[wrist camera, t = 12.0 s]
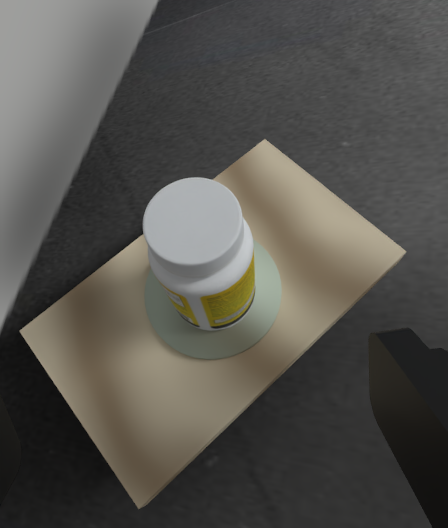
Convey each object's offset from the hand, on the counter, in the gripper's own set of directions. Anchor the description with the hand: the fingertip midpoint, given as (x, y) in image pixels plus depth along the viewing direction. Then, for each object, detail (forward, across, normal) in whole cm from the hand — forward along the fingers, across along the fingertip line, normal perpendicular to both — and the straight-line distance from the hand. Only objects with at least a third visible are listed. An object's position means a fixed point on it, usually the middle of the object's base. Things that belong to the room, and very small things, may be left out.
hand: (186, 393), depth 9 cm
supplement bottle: (+14, 0, +4) cm, 15 cm away
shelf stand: (+19, 0, +9) cm, 21 cm away
